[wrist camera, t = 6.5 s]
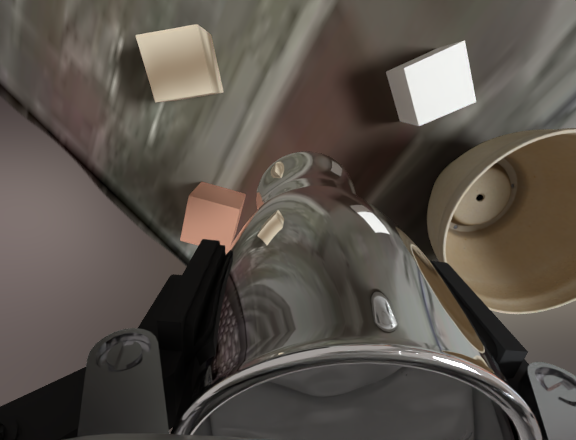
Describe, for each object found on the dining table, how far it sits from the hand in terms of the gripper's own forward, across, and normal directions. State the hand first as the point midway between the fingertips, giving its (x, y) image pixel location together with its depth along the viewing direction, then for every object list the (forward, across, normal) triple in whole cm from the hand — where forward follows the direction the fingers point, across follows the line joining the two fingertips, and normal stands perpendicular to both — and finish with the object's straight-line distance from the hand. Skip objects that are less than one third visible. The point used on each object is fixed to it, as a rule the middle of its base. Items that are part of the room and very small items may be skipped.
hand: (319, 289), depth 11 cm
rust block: (+24, +8, +7) cm, 26 cm away
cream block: (+24, -11, -8) cm, 28 cm away
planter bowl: (+24, -20, +2) cm, 32 cm away
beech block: (+24, +11, -7) cm, 27 cm away
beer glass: (+9, 0, 0) cm, 9 cm away
